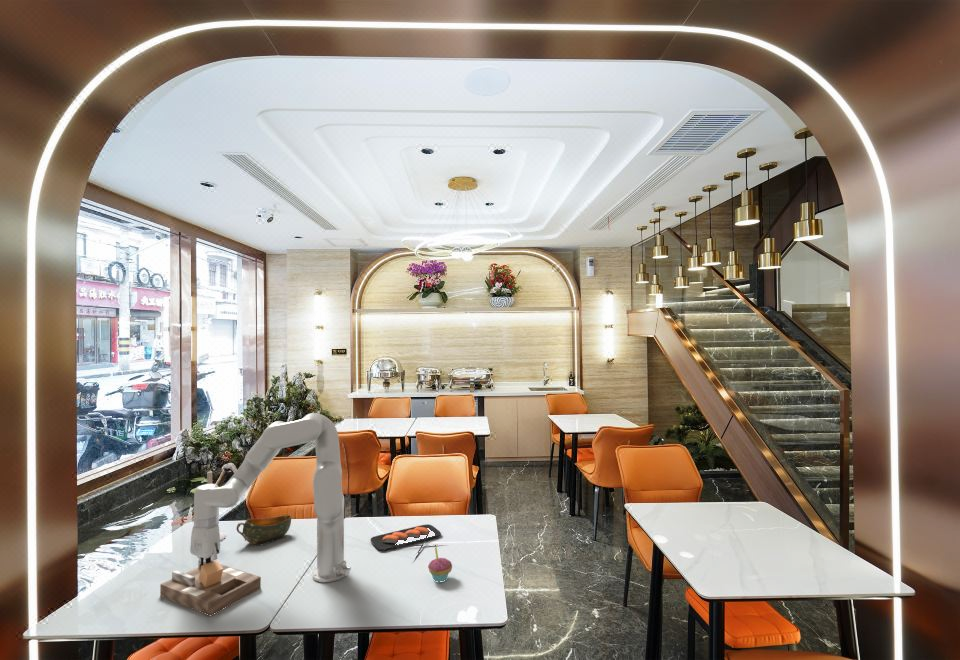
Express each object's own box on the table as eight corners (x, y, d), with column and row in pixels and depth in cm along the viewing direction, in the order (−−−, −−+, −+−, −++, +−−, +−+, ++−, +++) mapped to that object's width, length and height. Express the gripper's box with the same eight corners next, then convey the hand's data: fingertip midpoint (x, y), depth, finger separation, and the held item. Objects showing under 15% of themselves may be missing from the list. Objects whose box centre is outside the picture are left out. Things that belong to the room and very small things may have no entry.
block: (220, 581, 157) (223, 568, 156) (205, 587, 153) (207, 574, 152) (214, 572, 160) (216, 560, 159) (198, 578, 156) (201, 565, 155)
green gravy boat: (245, 535, 204) (245, 513, 204) (292, 532, 208) (292, 510, 208) (234, 548, 191) (235, 524, 192) (285, 545, 195) (285, 521, 195)
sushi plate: (429, 527, 213) (429, 519, 213) (460, 552, 187) (460, 542, 187) (368, 542, 198) (368, 533, 198) (392, 571, 172) (392, 561, 172)
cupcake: (424, 583, 162) (424, 549, 162) (434, 571, 170) (434, 539, 170) (446, 587, 159) (446, 552, 159) (456, 575, 167) (455, 542, 167)
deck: (260, 588, 160) (260, 569, 160) (210, 616, 144) (210, 595, 144) (211, 572, 172) (211, 554, 172) (160, 596, 156) (160, 576, 156)
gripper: (182, 521, 159) (181, 574, 159) (209, 528, 153) (208, 584, 152) (203, 514, 166) (202, 565, 166) (230, 521, 160) (229, 574, 159)
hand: (205, 574), depth 159 cm, fingers closed
